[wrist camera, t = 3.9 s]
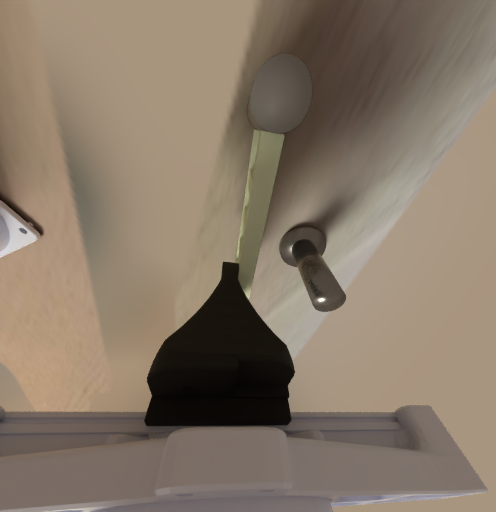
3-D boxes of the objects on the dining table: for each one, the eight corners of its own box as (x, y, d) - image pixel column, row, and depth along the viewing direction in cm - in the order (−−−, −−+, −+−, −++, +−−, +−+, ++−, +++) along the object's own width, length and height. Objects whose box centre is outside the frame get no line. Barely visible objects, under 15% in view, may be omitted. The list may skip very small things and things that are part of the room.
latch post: (273, 235, 16) (289, 288, 11) (319, 218, 15) (361, 267, 10) (285, 268, 18) (304, 327, 13) (326, 255, 18) (364, 311, 12)
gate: (249, 85, 10) (257, 46, 6) (284, 92, 11) (321, 61, 6) (229, 262, 17) (224, 316, 12) (250, 264, 18) (254, 318, 13)
